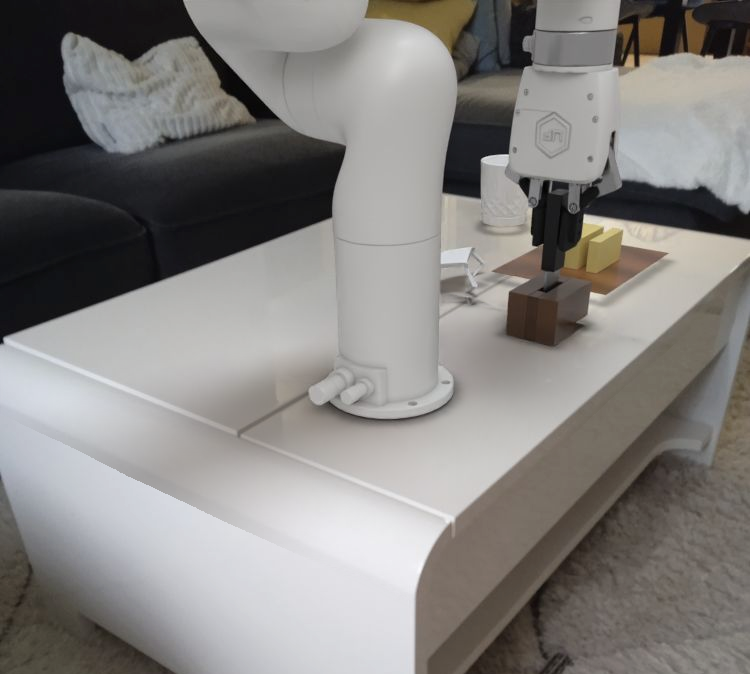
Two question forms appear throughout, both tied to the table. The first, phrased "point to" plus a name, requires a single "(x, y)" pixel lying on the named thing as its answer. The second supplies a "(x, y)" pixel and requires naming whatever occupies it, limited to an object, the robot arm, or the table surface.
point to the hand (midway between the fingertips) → (554, 244)
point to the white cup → (501, 194)
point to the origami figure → (462, 263)
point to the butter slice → (604, 250)
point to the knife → (553, 238)
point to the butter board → (602, 281)
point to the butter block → (582, 247)
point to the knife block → (547, 309)
